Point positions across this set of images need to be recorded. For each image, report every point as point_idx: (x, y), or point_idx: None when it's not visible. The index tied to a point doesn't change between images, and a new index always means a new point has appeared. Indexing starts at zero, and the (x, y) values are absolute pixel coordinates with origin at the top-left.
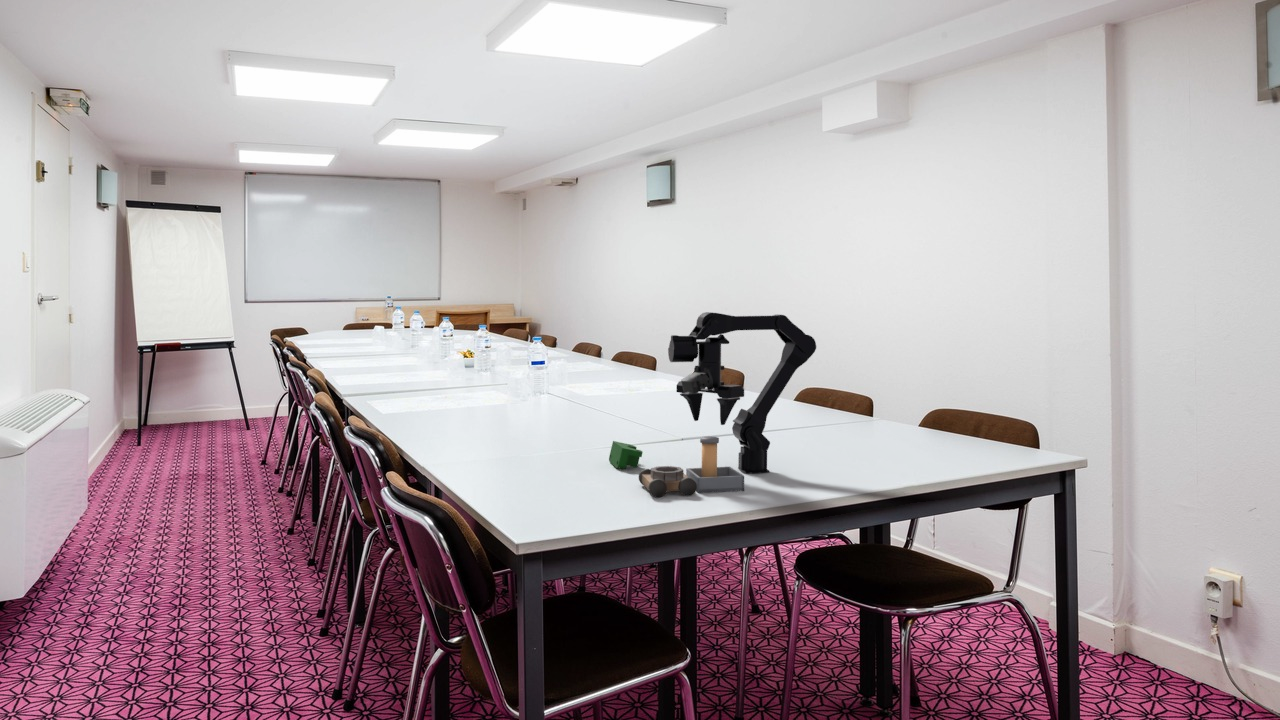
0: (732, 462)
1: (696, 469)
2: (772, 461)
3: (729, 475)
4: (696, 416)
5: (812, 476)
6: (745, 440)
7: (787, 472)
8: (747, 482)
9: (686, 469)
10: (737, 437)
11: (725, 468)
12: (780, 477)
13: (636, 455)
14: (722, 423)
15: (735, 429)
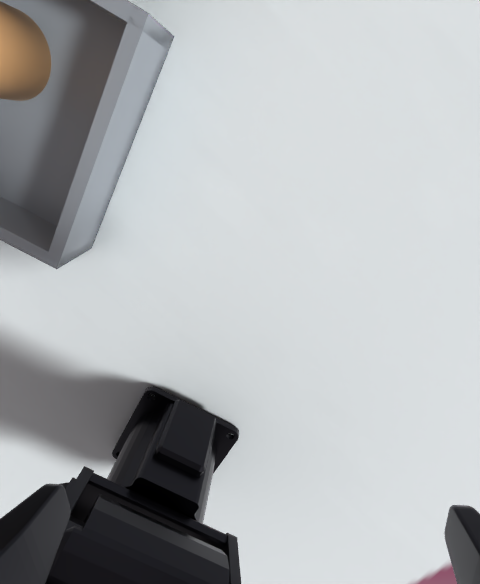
0: (346, 498)
1: (113, 74)
2: (254, 579)
3: (48, 230)
4: (470, 568)
5: (3, 494)
6: (92, 507)
7: None
8: (29, 280)
9: (149, 14)
10: (176, 533)
11: (56, 236)
12: (40, 424)
13: None
14: (35, 497)
15: (169, 582)
